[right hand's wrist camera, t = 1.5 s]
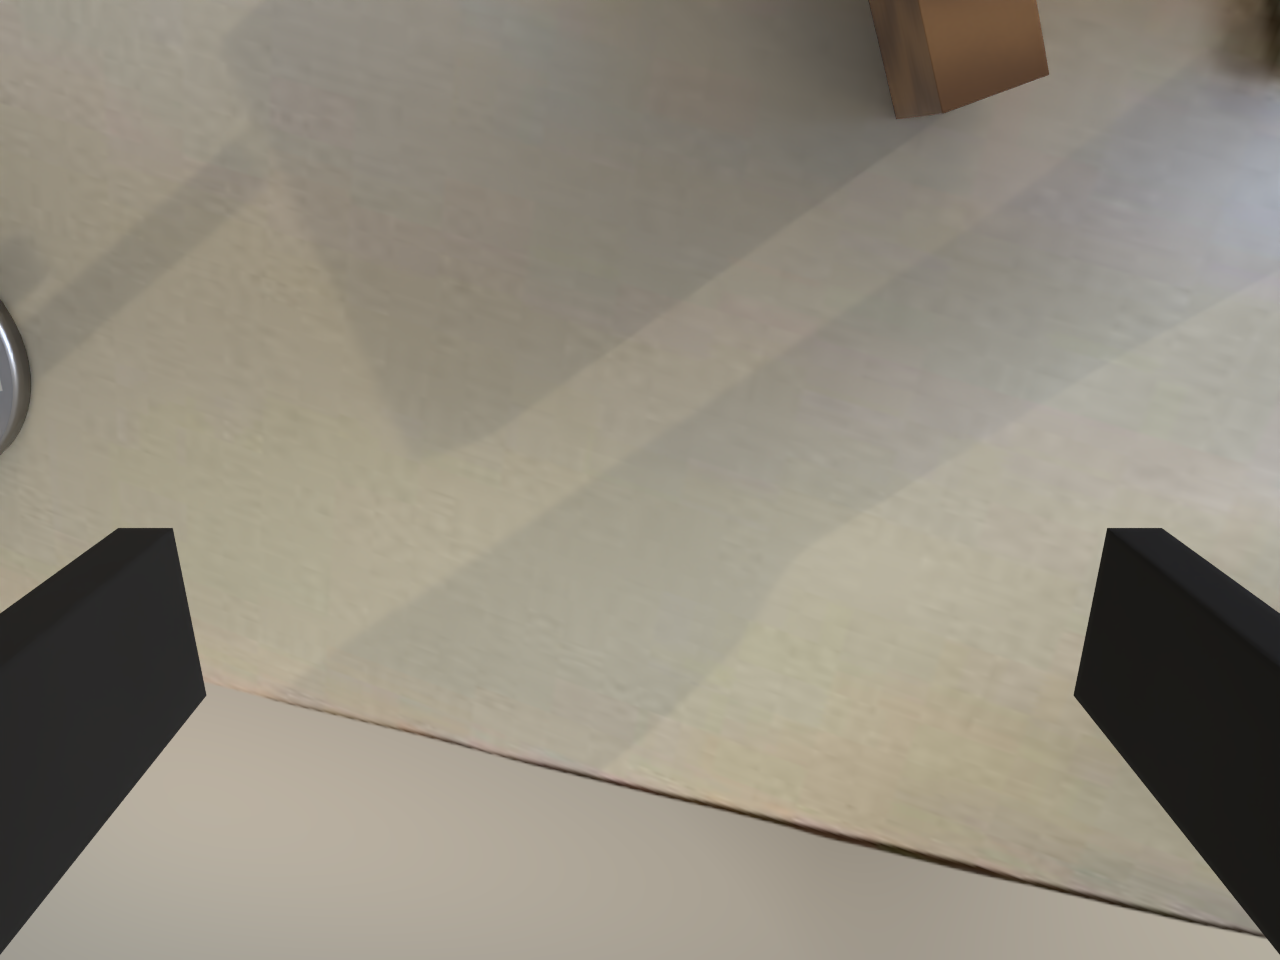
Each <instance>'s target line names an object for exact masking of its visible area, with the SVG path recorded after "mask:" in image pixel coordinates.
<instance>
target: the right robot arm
mask: <svg viewBox="0 0 1280 960" xmlns="http://www.w3.org/2000/svg"><path fill="white" fill-rule="evenodd" d="M30 392H31V378H30V369H29V362H28V358H27V354H26V350H25V347H24V344H23V341H22V338H21V336H20V333H19V331H18V329H17V326H16V324H15V323H14V321H13V319H12V317H11V315H10V313H9V312H8V310H7V309H6V307H5V306H4V304H3V303H2V301H1V300H0V454H2V453H3V452H4V451H5V450H6V449H7V448H8V447H9V446H10V444H11V443H12V442H13V440H14V439H15V438H16V436H17V434H18V433H19V431H20V430H21V427H22V425H23V423H24V421H25V418H26V414H27V411H28V407H29V401H30ZM205 696H206V691H205V687H204V681H203V676H202V671H201V666H200V661H199V656H198V651H197V646H196V642H195V637H194V632H193V627H192V622H191V617H190V612H189V607H188V602H187V597H186V592H185V587H184V582H183V577H182V572H181V567H180V562H179V557H178V552H177V547H176V542H175V537H174V532H173V528H118V529H116V530H115V531H114V532H112V533H111V534H109V535H108V536H107V537H105V538H104V539H103V540H101V541H100V542H98V543H97V544H96V545H94V546H93V547H91V548H90V549H89V550H87V551H86V552H85V553H83V554H82V555H80V556H79V557H78V558H76V559H75V560H74V561H72V562H71V563H69V564H68V565H67V566H65V567H64V568H62V569H61V570H60V571H58V572H57V573H56V574H54V575H53V576H51V577H50V578H49V579H47V580H46V581H45V582H43V583H42V584H40V585H39V586H38V587H36V588H35V589H33V590H32V591H31V592H29V593H28V594H27V595H25V596H24V597H22V598H21V599H20V600H18V601H17V602H16V603H14V604H13V605H11V606H10V607H9V608H7V609H6V610H4V611H3V612H2V613H0V954H1V953H2V952H3V950H4V949H5V948H6V947H7V945H8V944H9V943H10V942H11V940H12V939H13V938H14V937H15V935H16V934H17V933H18V932H19V930H20V929H21V928H22V927H23V925H24V924H25V923H26V922H27V920H28V919H29V918H30V916H31V915H32V914H33V913H34V911H35V910H36V909H37V908H38V906H39V905H40V904H41V903H42V901H43V900H44V899H45V898H46V896H47V895H48V894H49V893H50V891H51V890H52V889H53V887H54V886H55V885H56V884H57V883H58V881H59V880H60V879H61V877H62V876H63V875H64V874H65V872H66V871H67V870H68V869H69V867H70V866H71V865H72V864H73V862H74V861H75V860H76V859H77V857H78V856H79V855H80V854H81V852H82V851H83V850H84V849H85V847H86V846H87V845H88V843H89V842H90V841H91V840H92V839H93V837H94V836H95V835H96V833H97V832H98V831H99V830H100V828H101V827H102V826H103V825H104V823H105V822H106V821H107V820H108V818H109V817H110V816H111V815H112V813H113V812H114V811H115V810H116V808H117V807H118V806H119V805H120V803H121V802H122V801H123V800H124V798H125V797H126V796H127V795H128V793H129V792H130V791H131V790H132V788H133V787H134V786H135V784H136V783H137V782H138V781H139V779H140V778H141V777H142V776H143V774H144V773H145V772H146V771H147V769H148V768H149V767H150V766H151V764H152V763H153V762H154V761H155V759H156V758H157V757H158V756H159V754H160V753H161V752H162V751H163V749H164V748H165V747H166V746H167V744H168V743H169V742H170V740H171V739H172V738H173V737H174V735H175V734H176V733H177V732H178V730H179V729H180V728H181V727H182V725H183V724H184V723H185V722H186V720H187V719H188V718H189V716H190V715H191V714H192V713H193V712H194V710H195V709H196V708H197V707H198V705H199V704H200V703H201V702H202V700H203V699H204V698H205ZM1074 696H1075V698H1076V699H1077V700H1078V702H1079V703H1080V704H1081V705H1082V707H1083V708H1084V709H1085V710H1086V712H1087V713H1088V714H1089V715H1090V717H1091V718H1092V719H1093V720H1094V722H1095V723H1096V724H1097V725H1098V727H1099V728H1100V729H1101V730H1102V732H1103V733H1104V734H1105V735H1106V737H1107V738H1108V739H1109V740H1110V742H1111V743H1112V744H1113V746H1114V747H1115V748H1116V749H1117V751H1118V752H1119V753H1120V754H1121V756H1122V757H1123V758H1124V759H1125V761H1126V762H1127V763H1128V764H1129V766H1130V767H1131V768H1132V769H1133V771H1134V772H1135V773H1136V774H1137V776H1138V777H1139V778H1140V779H1141V781H1142V782H1143V783H1144V784H1145V786H1146V787H1147V788H1148V790H1149V791H1150V792H1151V793H1152V795H1153V796H1154V797H1155V798H1156V800H1157V801H1158V802H1159V803H1160V805H1161V806H1162V807H1163V808H1164V810H1165V811H1166V812H1167V813H1168V815H1169V816H1170V817H1171V818H1172V820H1173V821H1174V822H1175V823H1176V825H1177V826H1178V827H1179V828H1180V830H1181V831H1182V832H1183V834H1184V835H1185V836H1186V837H1187V839H1188V840H1189V841H1190V842H1191V844H1192V845H1193V846H1194V847H1195V849H1196V850H1197V851H1198V852H1199V854H1200V855H1201V856H1202V857H1203V859H1204V860H1205V861H1206V862H1207V864H1208V865H1209V866H1210V867H1211V869H1212V870H1213V871H1214V872H1215V874H1216V875H1217V876H1218V878H1219V879H1220V880H1221V881H1222V883H1223V884H1224V885H1225V886H1226V888H1227V889H1228V890H1229V891H1230V893H1231V894H1232V895H1233V896H1234V898H1235V899H1236V900H1237V901H1238V903H1239V904H1240V905H1241V906H1242V908H1243V909H1244V910H1245V911H1246V913H1247V914H1248V915H1249V916H1250V918H1251V919H1252V920H1253V922H1254V923H1255V924H1256V925H1257V927H1258V928H1259V929H1260V930H1261V932H1262V933H1263V934H1264V935H1265V937H1266V938H1267V939H1268V940H1269V942H1270V943H1271V944H1272V945H1273V947H1274V948H1275V949H1276V950H1277V952H1278V953H1279V954H1280V613H1278V612H1277V611H1275V610H1274V609H1273V608H1271V607H1270V606H1269V605H1267V604H1266V603H1264V602H1263V601H1262V600H1260V599H1259V598H1258V597H1256V596H1255V595H1253V594H1252V593H1251V592H1249V591H1248V590H1247V589H1245V588H1244V587H1242V586H1241V585H1240V584H1238V583H1237V582H1235V581H1234V580H1233V579H1231V578H1230V577H1229V576H1227V575H1226V574H1224V573H1223V572H1222V571H1220V570H1219V569H1218V568H1216V567H1215V566H1213V565H1212V564H1211V563H1209V562H1208V561H1206V560H1205V559H1204V558H1202V557H1201V556H1200V555H1198V554H1197V553H1195V552H1194V551H1193V550H1191V549H1190V548H1189V547H1187V546H1186V545H1184V544H1183V543H1182V542H1180V541H1179V540H1177V539H1176V538H1175V537H1173V536H1172V535H1171V534H1169V533H1168V532H1166V531H1165V530H1164V529H1162V528H1107V532H1106V537H1105V542H1104V547H1103V552H1102V557H1101V562H1100V567H1099V572H1098V577H1097V582H1096V587H1095V592H1094V597H1093V602H1092V607H1091V612H1090V617H1089V622H1088V627H1087V632H1086V637H1085V641H1084V646H1083V651H1082V656H1081V661H1080V666H1079V671H1078V676H1077V681H1076V686H1075V691H1074Z"/></svg>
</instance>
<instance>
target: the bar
mask: <svg viewBox="0 0 1280 960" xmlns="http://www.w3.org/2000/svg"><path fill="white" fill-rule="evenodd" d="M869 4H870V8H871V12H872V16H873V21H874V25H875V29H876V34H877V38H878V42H879V46H880V51H881V55H882V59H883V64H884V68H885V72H886V76H887V81H888V85H889V89H890V94H891V98H892V102H893V106H894V111H895V115H896V119H904V118H912V117H920V116H927V115H935V114H943V113H946V112H949V111H951V110H954V109H957V108H960V107H962V106H965V105H968V104H971V103H973V102H976V101H979V100H982V99H984V98H987V97H990V96H993V95H995V94H998V93H1001V92H1003V91H1006V90H1009V89H1012V88H1014V87H1017V86H1020V85H1023V84H1025V83H1028V82H1031V81H1034V80H1036V79H1039V78H1042V77H1045V76H1047V75H1049V70H1048V64H1047V58H1046V53H1045V47H1044V41H1043V36H1042V30H1041V24H1040V18H1039V13H1038V7H1037V1H1036V0H869Z"/></svg>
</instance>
